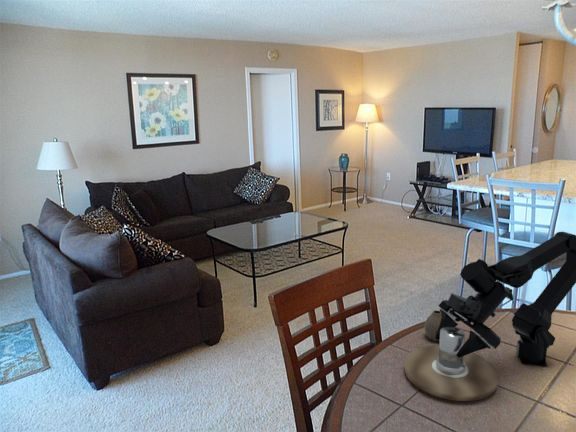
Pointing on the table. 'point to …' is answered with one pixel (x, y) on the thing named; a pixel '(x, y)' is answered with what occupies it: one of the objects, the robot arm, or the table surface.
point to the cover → (450, 351)
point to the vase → (433, 324)
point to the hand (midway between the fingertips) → (446, 347)
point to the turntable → (451, 376)
